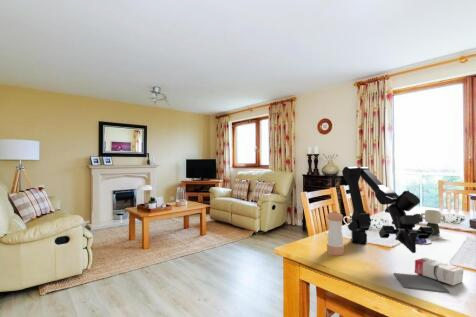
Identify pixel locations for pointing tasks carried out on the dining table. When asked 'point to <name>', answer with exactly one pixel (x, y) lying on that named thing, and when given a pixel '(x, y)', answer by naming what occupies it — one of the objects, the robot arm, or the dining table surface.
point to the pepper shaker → (335, 234)
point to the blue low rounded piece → (422, 241)
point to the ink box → (439, 271)
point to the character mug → (433, 219)
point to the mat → (420, 282)
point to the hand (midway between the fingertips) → (414, 252)
